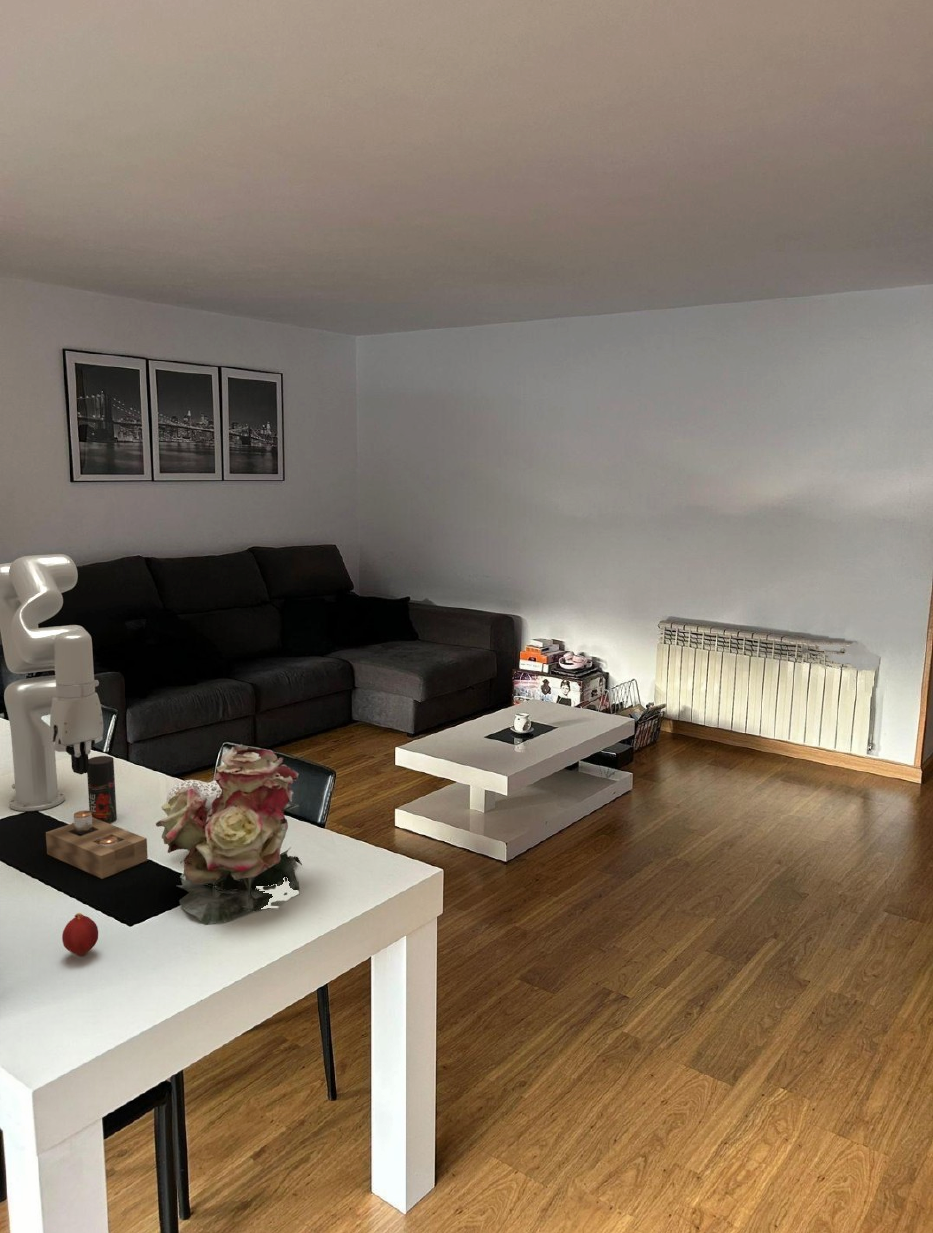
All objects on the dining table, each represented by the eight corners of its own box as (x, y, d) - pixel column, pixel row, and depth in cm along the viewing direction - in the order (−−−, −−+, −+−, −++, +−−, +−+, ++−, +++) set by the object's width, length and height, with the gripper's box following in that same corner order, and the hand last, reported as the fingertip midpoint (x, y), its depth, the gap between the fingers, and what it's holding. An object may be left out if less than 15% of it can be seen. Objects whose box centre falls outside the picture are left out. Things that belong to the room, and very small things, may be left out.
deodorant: (121, 816, 222) (118, 756, 219) (109, 825, 216) (106, 764, 213) (97, 814, 222) (94, 755, 220) (85, 824, 217) (81, 763, 214)
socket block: (47, 854, 200) (45, 832, 199) (92, 837, 209) (91, 816, 208) (102, 878, 189) (100, 855, 188) (147, 860, 198) (146, 838, 197)
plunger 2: (97, 861, 196) (95, 840, 195) (111, 855, 199) (110, 834, 198) (107, 865, 194) (106, 844, 193) (122, 859, 197) (121, 838, 196)
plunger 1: (71, 834, 201) (70, 814, 200) (86, 829, 203) (85, 809, 203) (81, 838, 199) (79, 817, 198) (96, 833, 201) (94, 812, 201)
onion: (70, 946, 163) (67, 904, 162) (103, 945, 164) (101, 903, 162) (58, 964, 157) (55, 921, 156) (93, 963, 158) (90, 920, 156)
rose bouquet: (155, 878, 190) (148, 738, 185) (295, 856, 201) (292, 723, 196) (168, 937, 167) (161, 779, 162) (325, 908, 178) (324, 760, 173)
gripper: (96, 680, 203) (101, 760, 207) (32, 694, 191) (38, 778, 194) (117, 685, 199) (121, 766, 202) (52, 699, 187) (58, 785, 190)
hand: (80, 772), depth 198 cm, fingers closed
